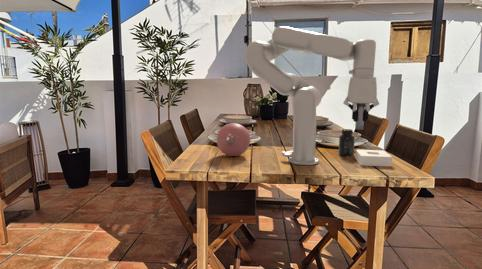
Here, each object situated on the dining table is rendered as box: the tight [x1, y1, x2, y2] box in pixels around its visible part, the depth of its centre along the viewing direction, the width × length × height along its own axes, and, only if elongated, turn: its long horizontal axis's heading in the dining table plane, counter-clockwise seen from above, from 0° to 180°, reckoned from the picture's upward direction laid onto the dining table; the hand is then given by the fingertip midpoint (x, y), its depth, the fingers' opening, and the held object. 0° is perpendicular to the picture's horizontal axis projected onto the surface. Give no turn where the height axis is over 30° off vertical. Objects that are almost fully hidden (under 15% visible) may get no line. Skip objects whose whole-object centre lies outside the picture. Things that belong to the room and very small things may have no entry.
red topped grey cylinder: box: [354, 103, 365, 131], centre depth 123 cm, size 5×5×12 cm
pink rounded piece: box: [216, 122, 251, 157], centre depth 143 cm, size 15×20×15 cm
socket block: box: [354, 149, 393, 168], centre depth 134 cm, size 12×12×4 cm
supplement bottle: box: [338, 128, 356, 157], centre depth 147 cm, size 7×7×12 cm
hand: (359, 120), depth 123 cm, fingers closed on red topped grey cylinder, 3 cm apart
